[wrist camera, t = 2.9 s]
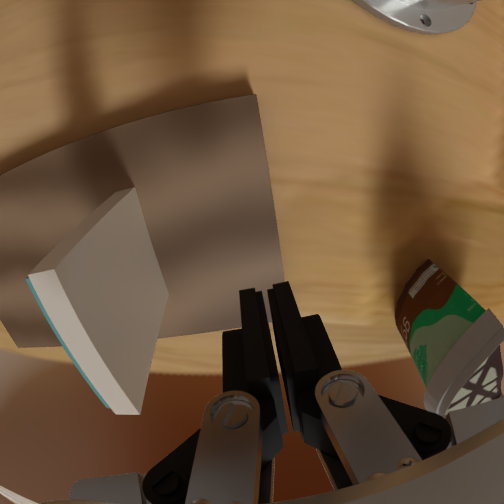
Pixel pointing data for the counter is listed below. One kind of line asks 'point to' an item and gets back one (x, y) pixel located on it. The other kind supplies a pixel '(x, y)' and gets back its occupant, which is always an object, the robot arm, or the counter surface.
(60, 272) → the tile
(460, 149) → the counter surface
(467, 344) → the food container
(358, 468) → the robot arm
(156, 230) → the board
